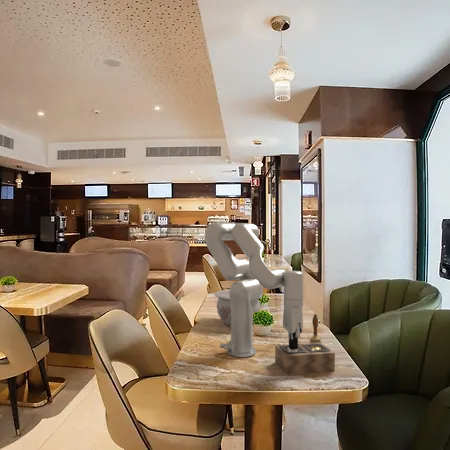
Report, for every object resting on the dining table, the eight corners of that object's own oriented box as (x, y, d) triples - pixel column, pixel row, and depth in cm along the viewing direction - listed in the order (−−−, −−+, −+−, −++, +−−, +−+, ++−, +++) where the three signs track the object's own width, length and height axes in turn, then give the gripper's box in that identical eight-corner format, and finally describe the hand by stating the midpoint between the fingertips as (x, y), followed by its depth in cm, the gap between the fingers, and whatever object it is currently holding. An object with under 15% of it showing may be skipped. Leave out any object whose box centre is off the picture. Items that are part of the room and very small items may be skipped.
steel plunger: (289, 368, 137) (289, 350, 137) (285, 364, 141) (285, 347, 141) (299, 367, 138) (299, 350, 138) (295, 363, 142) (295, 346, 142)
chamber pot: (264, 331, 185) (265, 292, 185) (212, 330, 186) (213, 291, 186) (260, 317, 213) (260, 283, 213) (215, 316, 214) (215, 282, 214)
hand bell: (321, 354, 154) (322, 317, 154) (303, 350, 158) (303, 315, 158) (327, 348, 161) (327, 313, 161) (309, 345, 165) (309, 311, 165)
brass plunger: (313, 367, 139) (313, 350, 139) (308, 363, 143) (309, 346, 143) (322, 367, 140) (322, 349, 140) (318, 363, 144) (318, 346, 144)
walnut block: (285, 374, 132) (286, 355, 132) (275, 362, 144) (275, 344, 144) (334, 370, 136) (334, 352, 136) (320, 359, 148) (320, 341, 148)
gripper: (277, 298, 146) (277, 343, 146) (291, 307, 131) (291, 356, 131) (294, 298, 147) (294, 341, 147) (310, 306, 132) (310, 354, 132)
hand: (293, 348), depth 139 cm, fingers closed
